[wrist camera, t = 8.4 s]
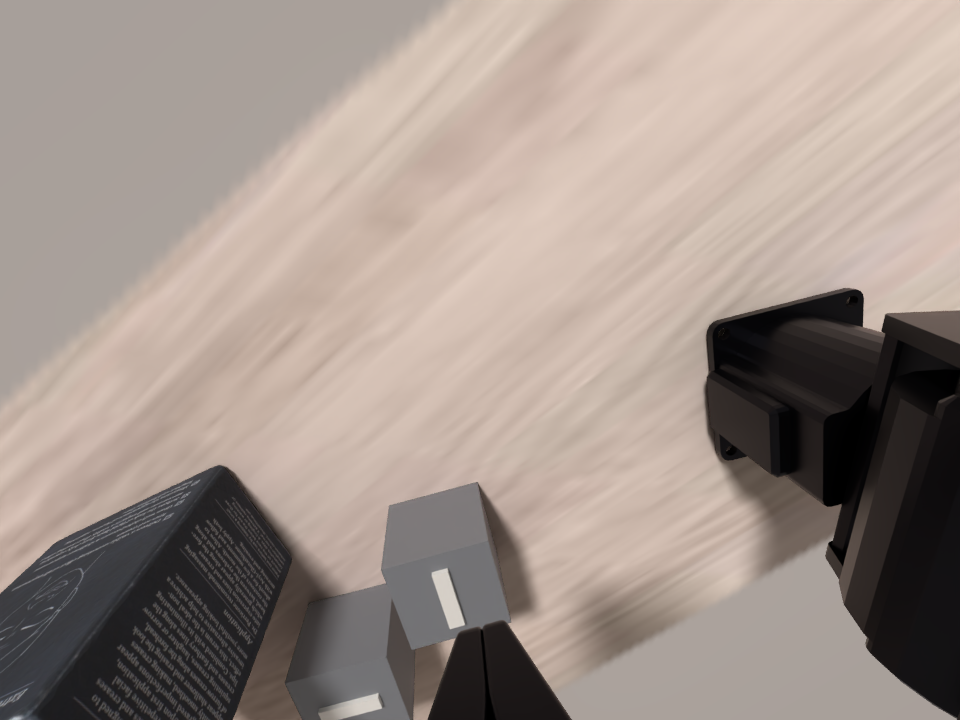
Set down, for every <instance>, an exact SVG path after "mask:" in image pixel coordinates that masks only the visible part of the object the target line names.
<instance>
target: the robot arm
mask: <svg viewBox="0 0 960 720" xmlns="http://www.w3.org/2000/svg"><path fill="white" fill-rule="evenodd" d="M849 297H850V300H849V302H848V304H846V302H847V299H848V298H849ZM863 304H864V298H863V294H862V292H861V291H859V290H856V289H851V288H843V289H839V290H835V291H831V292H827V293H824V294H820V295H816V296H812V297H808V298H804V299H800V300H796V301H792V302H788V303H784V304H780V305H776V306H772V307H768V308H764V309H760V310H756V311H752V312H748V313H744V314H740V315H736V316H732V317H728V318H724V319H720V320H717V321H715V322H713V323H712V324H711V325H710V326H709V328H708V330H707V343H708V356H709V369H710V372H709V374H708V376H707V387H708V400H709V413H710V425H711V428H712V429H714V435H715V449H716V452H717V453H718V454H719V455H720V456H721V457H722V458H723V459H725V460H734V459H738V458H742V457H746V456H748V457H750V458H751V459H752V460H753V461H755V462H756V463H757V464H759V465H760V466H761V467H762V468H764V469H765V470H766V471H768V472H769V473H770V474H772V475H774V476H776V477H781V476H786V477H788V478H789V479H790V480H792V481H793V482H794V483H796V484H797V485H798V486H800V487H801V488H802V489H804V490H805V491H806V492H808V493H809V494H810V495H812V496H813V497H814V498H816V499H817V500H818V501H820V502H821V503H822V504H824V505H825V506H827V507H832V506H835V505H839V504H842V507H841V511H840V515H839V518H838V522H837V526H836V530H835V534H834V538H833V541H831V542H829V543H828V547H827V551H826V555H825V556H826V559H827V561H828V562H829V564H830V565H831V567H832V568H833V570H834V572H835V574H836V575H837V577H838V578H839V585H840V589H841V594H842V598H843V603H844V605H845V607H846V608H847V610H848V611H849V613H850V614H851V615H852V617H853V618H854V620H855V621H856V623H857V624H858V626H859V627H860V629H861V630H862V632H863V633H864V634H865V635H866V636H867V639H866V648H867V649H868V651H869V652H870V653H871V654H872V655H873V656H874V657H875V658H876V659H877V660H878V661H879V662H880V663H881V664H883V665H884V666H885V667H886V668H887V669H888V670H889V671H890V672H891V673H893V674H894V675H895V676H896V677H897V678H898V679H899V680H900V681H901V682H903V683H904V684H906V685H907V686H908V687H909V688H911V689H912V690H914V691H915V692H916V693H918V694H919V695H920V696H922V697H923V698H925V699H926V700H927V701H929V702H930V703H932V704H933V705H935V706H936V707H938V708H939V709H941V710H943V711H945V712H946V713H948V714H950V715H951V716H953V717H955V718H957V720H960V311H936V312H910V313H887V314H886V315H885V319H884V323H883V327H882V332H883V333H882V332H879V331H875V330H871V329H868V328H864V327H863ZM723 328H724V334H723V335H722V336H721V337H718V333H719V331H720V330H721V329H723ZM729 446H731V448H730V449H729V450H728V451H726V449H727V448H728V447H729ZM428 720H572V719H571V718H570V716H569V715H568V713H567V712H566V710H565V709H564V707H563V706H562V705H561V703H560V702H559V700H558V698H557V697H556V695H555V694H554V692H553V691H552V689H551V688H550V686H549V685H548V683H547V682H546V680H545V679H544V677H543V676H542V674H541V673H540V671H539V670H538V669H537V667H536V666H535V664H534V663H533V661H532V660H531V658H530V657H529V655H528V654H527V652H526V651H525V649H524V648H523V646H522V645H521V643H520V642H519V640H518V639H517V637H516V636H515V634H514V633H513V631H512V630H511V628H510V627H509V625H508V624H507V622H506V621H504V620H499V621H495V622H492V623H488V624H485V625H484V626H483V628H481V627H478V626H477V627H473V628H469V629H466V630H462V631H460V632H459V633H458V634H457V636H456V639H455V642H454V645H453V648H452V651H451V653H450V656H449V659H448V662H447V665H446V668H445V671H444V674H443V677H442V679H441V682H440V685H439V688H438V691H437V694H436V697H435V700H434V703H433V705H432V708H431V711H430V714H429V717H428Z"/></svg>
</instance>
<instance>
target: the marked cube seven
mask: <svg viewBox="0 0 960 720" xmlns="http://www.w3.org/2000/svg"><path fill="white" fill-rule="evenodd" d="M414 673H415V649H414V650H412V649H411V647H410V644H409V641H408V639H407V636H406V634H405V631H404V628H403V626H402V623H401V621H400V618H399V615H398V613H397V610H396V608H395V605H394V602H393V600H392V597H391V594H390V592H389V589H388V587H387V584H382V585H378V586H374V587H371V588H367V589H363V590H359V591H355V592H351V593H347V594H343V595H339V596H335V597H331V598H327V599H324V600H320V601H316V602H312V603H309V604H308V608H307V611H306V614H305V618H304V621H303V624H302V628H301V631H300V634H299V638H298V641H297V644H296V648H295V651H294V654H293V658H292V661H291V664H290V668H289V671H288V674H287V678H286V681H285V685H286V687H287V689H288V691H289V693H290V695H291V697H292V699H293V701H294V703H295V705H296V708H297V710H298V712H299V714H300V716H301V718H302V720H413V707H414Z"/></svg>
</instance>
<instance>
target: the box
mask: <svg viewBox="0 0 960 720" xmlns="http://www.w3.org/2000/svg"><path fill="white" fill-rule="evenodd" d="M291 562H292V558H291V556H290V554H289V552H288V551H287V550H286V548H285V547H284V546H283V544H282V543H281V541H280V540H279V539H278V538H277V537H276V535H275V534H274V533H273V531H272V530H271V529H270V527H269V526H268V525H267V523H266V522H265V520H264V519H263V518H262V517H261V515H260V514H259V513H258V511H257V510H256V508H255V507H254V506H253V505H252V503H251V502H250V501H249V499H248V498H247V496H246V495H245V494H244V493H243V491H242V490H241V489H240V488H239V486H238V485H237V483H236V482H235V480H234V479H233V478H232V477H231V476H230V474H229V473H228V472H227V470H226V469H225V468H224V467H223V466H221V465H218V466H215V467H213V468H210V469H208V470H206V471H204V472H202V473H199V474H197V475H195V476H193V477H191V478H189V479H187V480H185V481H183V482H181V483H179V484H177V485H174V486H172V487H170V488H168V489H166V490H164V491H161V492H159V493H158V494H155V495H153V496H151V497H149V498H147V499H145V500H143V501H141V502H139V503H137V504H135V505H132V506H130V507H128V508H126V509H124V510H122V511H120V512H118V513H116V514H113V515H111V516H109V517H107V518H105V519H103V520H101V521H99V522H97V523H95V524H92V525H90V526H88V527H86V528H84V529H82V530H80V531H78V532H76V533H73V534H71V535H69V536H68V537H66V538H64V539H62V540H60V541H58V542H56V543H55V544H53V545H52V546H51V547H50V548H49V549H48V550H47V551H46V552H45V553H44V554H43V555H42V556H41V557H40V558H38V559H37V560H36V561H35V562H34V563H33V564H32V565H31V566H30V567H29V568H28V569H26V570H25V571H24V572H23V573H22V574H21V575H20V576H19V577H18V578H17V579H16V580H15V581H14V582H13V583H12V584H10V585H9V586H8V587H7V588H6V589H5V590H4V591H3V592H2V593H1V594H0V720H233V717H234V715H235V713H236V710H237V707H238V704H239V702H240V699H241V696H242V693H243V691H244V688H245V685H246V682H247V680H248V678H249V675H250V672H251V669H252V667H253V664H254V661H255V658H256V656H257V653H258V651H259V648H260V645H261V643H262V640H263V637H264V634H265V631H266V629H267V627H268V624H269V621H270V619H271V616H272V613H273V610H274V608H275V605H276V602H277V600H278V597H279V595H280V592H281V589H282V586H283V584H284V581H285V578H286V576H287V573H288V570H289V567H290V565H291Z"/></svg>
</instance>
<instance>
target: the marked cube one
mask: <svg viewBox="0 0 960 720" xmlns="http://www.w3.org/2000/svg"><path fill="white" fill-rule="evenodd" d="M381 571H382V574H383V576H384V579H385V581H386V584H387V587H388V589H389V592H390V594H391V597H392V600H393V602H394V605H395V608H396V610H397V613H398V615H399V618H400V621H401V623H402V626H403V628H404V631H405V634H406V636H407V639H408V641H409V644H410V647H411V649H412V650H414V649H417V648H421V647H425V646H428V645H432V644H435V643H439V642H443V641H446V640H450V639H453V638H456V636H457V634H458V633H459V632H460V631H462V630H466V629H469V628H473V627H477V626H478V627H481V628H483V626H484V625H485V624H488V623H492V622H495V621H499V620H504V621H506V622H507V623H511V619H510V614H509V609H508V604H507V599H506V594H505V589H504V584H503V580H502V575H501V570H500V565H499V560H498V555H497V551H496V547H495V544H494V540H493V537H492V533H491V530H490V526H489V522H488V519H487V515H486V512H485V508H484V505H483V501H482V497H481V494H480V490H479V487H478V483H477V482H476V483H472V484H468V485H464V486H461V487H457V488H453V489H449V490H446V491H442V492H438V493H434V494H431V495H427V496H423V497H420V498H416V499H412V500H408V501H405V502H401V503H397V504H393V505H390V506H389V511H388V519H387V527H386V535H385V543H384V551H383V559H382V567H381Z"/></svg>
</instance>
